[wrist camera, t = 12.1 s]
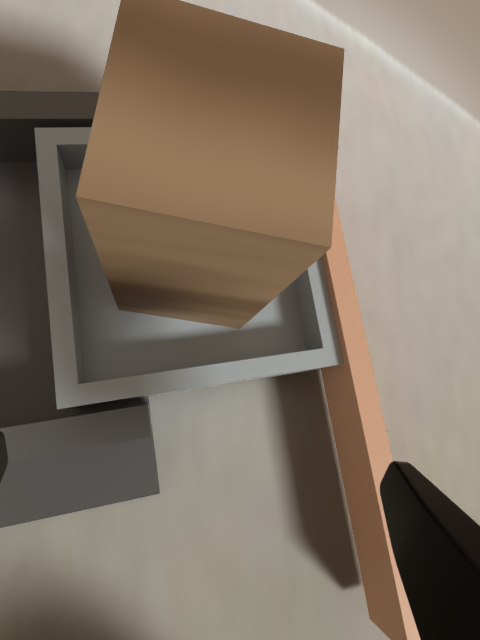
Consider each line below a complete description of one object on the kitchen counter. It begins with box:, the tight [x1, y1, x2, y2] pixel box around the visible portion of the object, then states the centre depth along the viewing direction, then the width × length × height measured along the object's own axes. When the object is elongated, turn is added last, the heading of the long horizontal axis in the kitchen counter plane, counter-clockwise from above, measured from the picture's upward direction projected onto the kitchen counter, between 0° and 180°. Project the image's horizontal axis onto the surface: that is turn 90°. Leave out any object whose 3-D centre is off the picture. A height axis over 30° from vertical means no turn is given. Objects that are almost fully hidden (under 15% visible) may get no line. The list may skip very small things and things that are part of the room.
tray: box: [34, 127, 421, 640], centre depth 17 cm, size 23×13×3 cm, turn 9°
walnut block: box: [76, 0, 344, 329], centre depth 14 cm, size 6×6×10 cm
